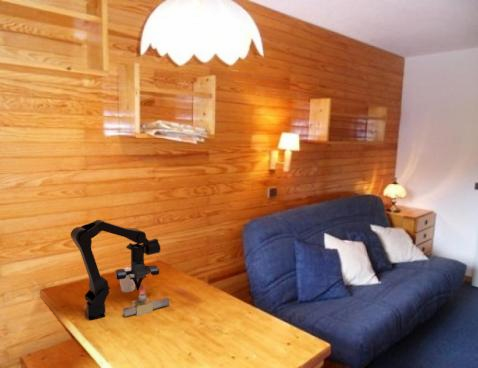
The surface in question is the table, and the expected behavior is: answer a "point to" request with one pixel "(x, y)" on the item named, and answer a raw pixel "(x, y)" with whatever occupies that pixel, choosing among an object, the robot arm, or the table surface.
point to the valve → (145, 306)
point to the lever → (142, 293)
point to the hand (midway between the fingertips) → (137, 290)
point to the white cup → (127, 283)
